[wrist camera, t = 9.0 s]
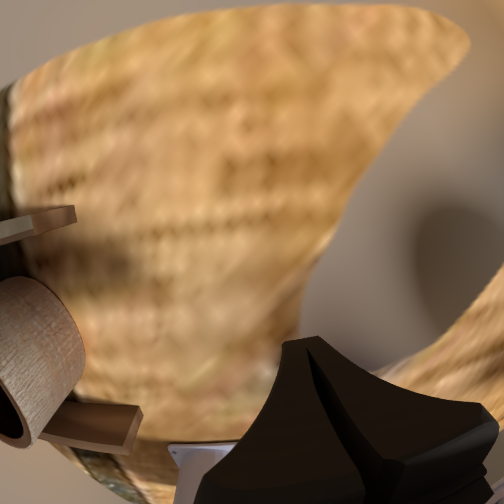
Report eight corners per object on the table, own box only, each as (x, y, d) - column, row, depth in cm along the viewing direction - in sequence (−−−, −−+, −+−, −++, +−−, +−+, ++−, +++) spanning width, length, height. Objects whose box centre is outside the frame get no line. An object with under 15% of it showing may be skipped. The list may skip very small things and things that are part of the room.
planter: (43, 391, 22) (-2, 450, 12) (-15, 299, 19) (-78, 339, 10) (112, 368, 21) (62, 450, 11) (41, 251, 18) (-47, 293, 9)
